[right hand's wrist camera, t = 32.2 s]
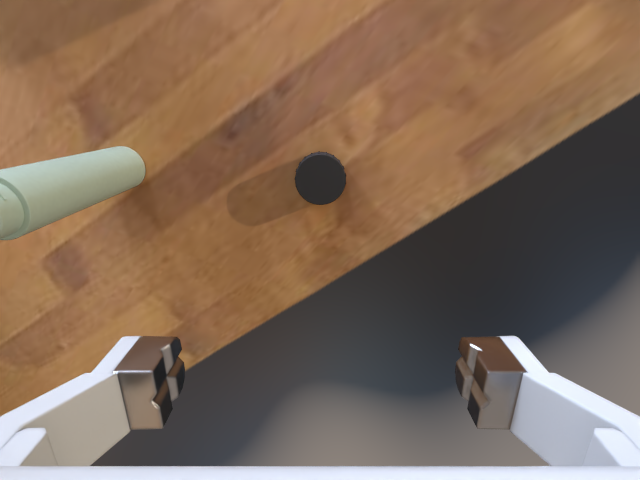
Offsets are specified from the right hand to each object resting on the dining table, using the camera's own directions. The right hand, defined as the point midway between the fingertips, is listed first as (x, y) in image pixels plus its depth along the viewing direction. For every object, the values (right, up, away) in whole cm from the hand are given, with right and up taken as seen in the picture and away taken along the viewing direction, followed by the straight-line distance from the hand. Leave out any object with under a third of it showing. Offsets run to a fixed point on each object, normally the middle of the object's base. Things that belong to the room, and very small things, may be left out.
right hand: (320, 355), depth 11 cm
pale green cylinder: (-20, +11, +27) cm, 35 cm away
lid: (0, +9, +25) cm, 27 cm away
